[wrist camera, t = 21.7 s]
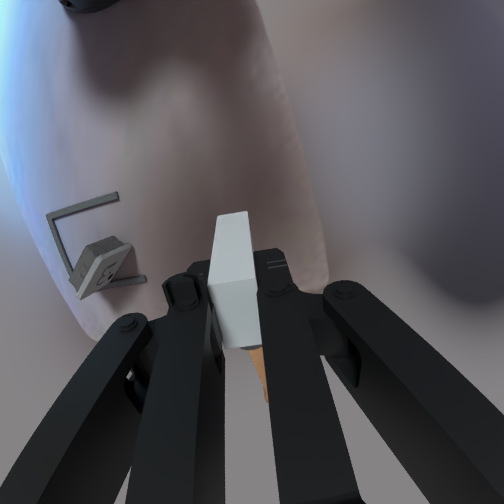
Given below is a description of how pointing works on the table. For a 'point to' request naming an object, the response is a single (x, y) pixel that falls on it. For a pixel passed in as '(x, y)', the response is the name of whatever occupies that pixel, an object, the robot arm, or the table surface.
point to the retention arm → (258, 364)
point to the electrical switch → (98, 265)
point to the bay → (61, 248)
